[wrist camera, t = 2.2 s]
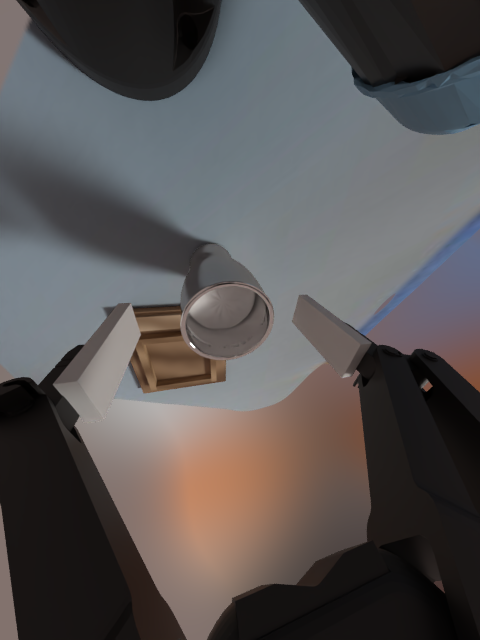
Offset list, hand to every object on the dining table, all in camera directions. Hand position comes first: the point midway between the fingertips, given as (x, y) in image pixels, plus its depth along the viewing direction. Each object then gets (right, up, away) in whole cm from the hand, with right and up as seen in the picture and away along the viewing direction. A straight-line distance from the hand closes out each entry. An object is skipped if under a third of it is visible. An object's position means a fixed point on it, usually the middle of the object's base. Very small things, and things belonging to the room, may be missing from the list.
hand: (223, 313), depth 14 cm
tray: (-9, -6, +17) cm, 20 cm away
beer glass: (-3, +7, +10) cm, 13 cm away
